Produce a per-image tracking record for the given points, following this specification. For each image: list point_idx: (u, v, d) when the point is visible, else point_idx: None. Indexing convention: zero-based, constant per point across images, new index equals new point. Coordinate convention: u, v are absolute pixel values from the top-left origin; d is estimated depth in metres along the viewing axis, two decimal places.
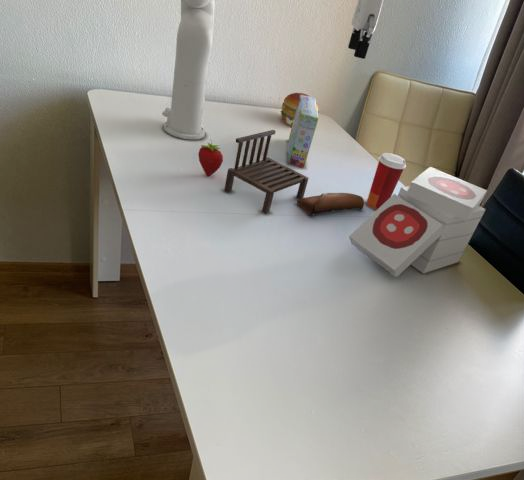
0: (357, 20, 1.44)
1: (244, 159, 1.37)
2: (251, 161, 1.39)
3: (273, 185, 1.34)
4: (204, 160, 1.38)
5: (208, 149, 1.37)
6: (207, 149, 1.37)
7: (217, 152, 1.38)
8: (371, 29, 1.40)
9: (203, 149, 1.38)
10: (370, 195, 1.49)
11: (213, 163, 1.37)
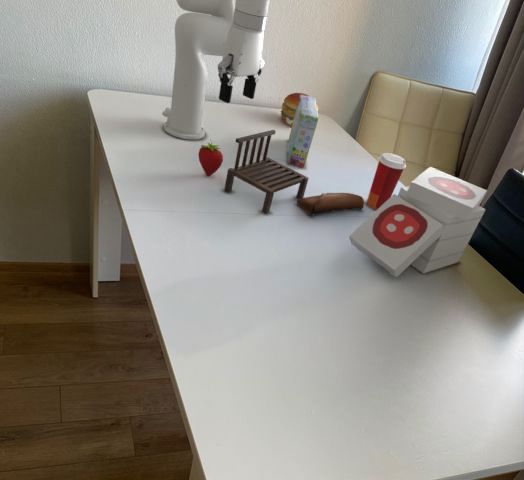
0: None
1: (244, 159, 1.37)
2: (251, 161, 1.39)
3: (273, 185, 1.34)
4: (204, 160, 1.38)
5: (208, 149, 1.37)
6: (207, 149, 1.37)
7: (217, 152, 1.38)
8: (220, 68, 1.23)
9: (203, 149, 1.38)
10: (370, 195, 1.49)
11: (213, 163, 1.37)
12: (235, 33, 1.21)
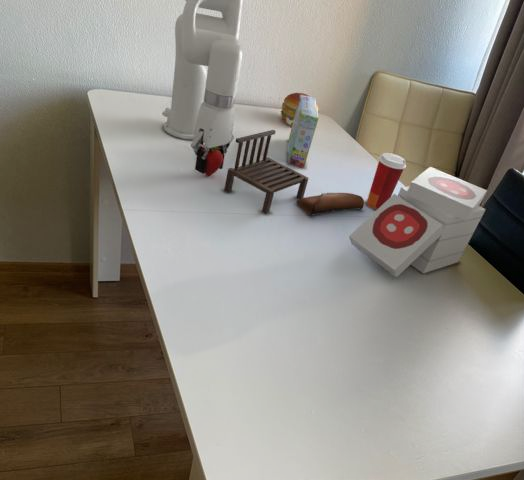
0: None
1: (244, 159, 1.37)
2: (251, 161, 1.39)
3: (273, 185, 1.34)
4: None
5: None
6: None
7: (217, 152, 1.38)
8: (193, 147, 1.32)
9: (203, 149, 1.38)
10: (370, 195, 1.49)
11: (213, 163, 1.37)
12: (205, 111, 1.29)
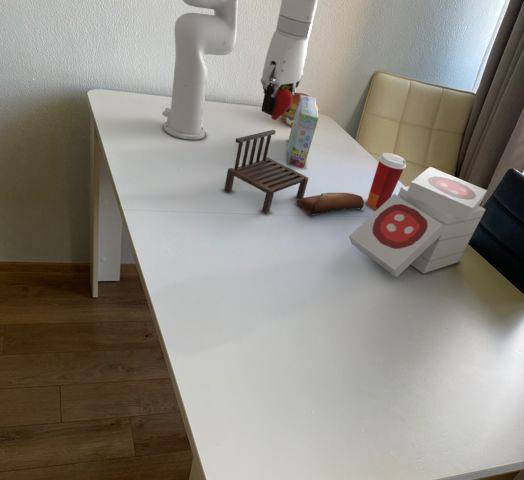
0: None
1: (244, 159, 1.37)
2: (251, 161, 1.39)
3: (273, 185, 1.34)
4: None
5: None
6: None
7: (287, 91, 1.24)
8: (263, 83, 1.19)
9: None
10: (370, 195, 1.49)
11: (282, 102, 1.24)
12: (279, 40, 1.15)
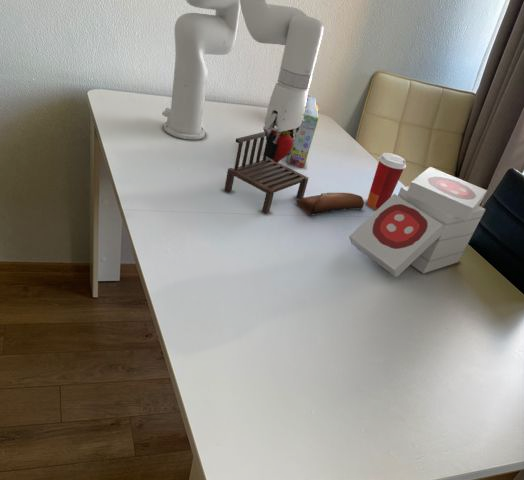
0: None
1: (244, 159, 1.37)
2: (251, 161, 1.39)
3: (273, 185, 1.34)
4: None
5: None
6: None
7: (288, 136, 1.30)
8: (265, 131, 1.25)
9: (273, 133, 1.30)
10: (370, 195, 1.49)
11: (284, 147, 1.30)
12: (280, 91, 1.21)
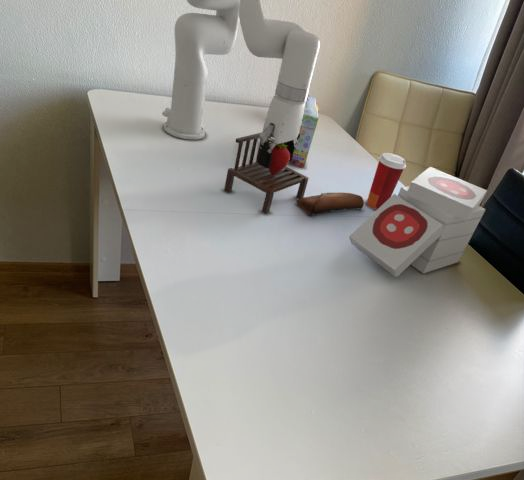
0: None
1: (244, 159, 1.37)
2: (251, 161, 1.39)
3: (273, 185, 1.34)
4: None
5: (275, 146, 1.32)
6: None
7: (285, 150, 1.32)
8: (261, 138, 1.25)
9: None
10: (370, 195, 1.49)
11: (280, 160, 1.32)
12: (277, 105, 1.23)
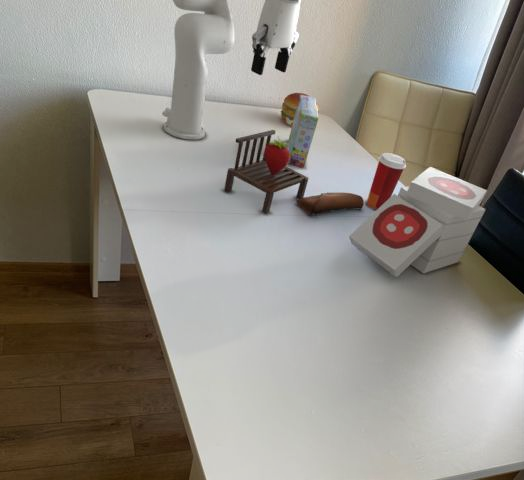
0: None
1: (244, 159, 1.37)
2: (251, 161, 1.39)
3: (273, 185, 1.34)
4: (271, 158, 1.32)
5: (275, 146, 1.32)
6: (274, 146, 1.32)
7: (285, 150, 1.32)
8: (254, 39, 1.22)
9: (270, 146, 1.32)
10: (370, 195, 1.49)
11: (280, 160, 1.32)
12: (271, 3, 1.20)
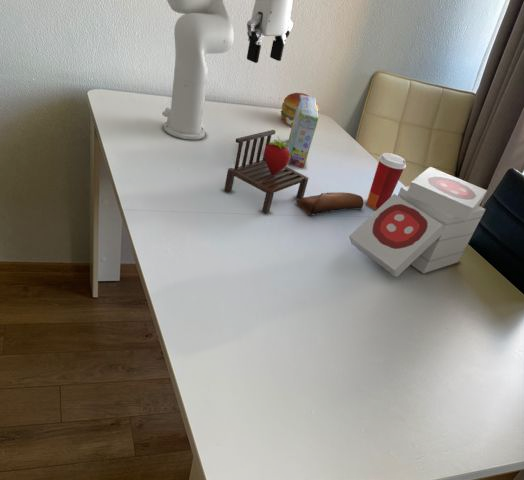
0: None
1: (244, 159, 1.37)
2: (251, 161, 1.39)
3: (273, 185, 1.34)
4: (271, 158, 1.32)
5: (275, 146, 1.32)
6: (274, 146, 1.32)
7: (285, 150, 1.32)
8: (249, 26, 1.24)
9: (270, 146, 1.32)
10: (370, 195, 1.49)
11: (280, 160, 1.32)
12: None
